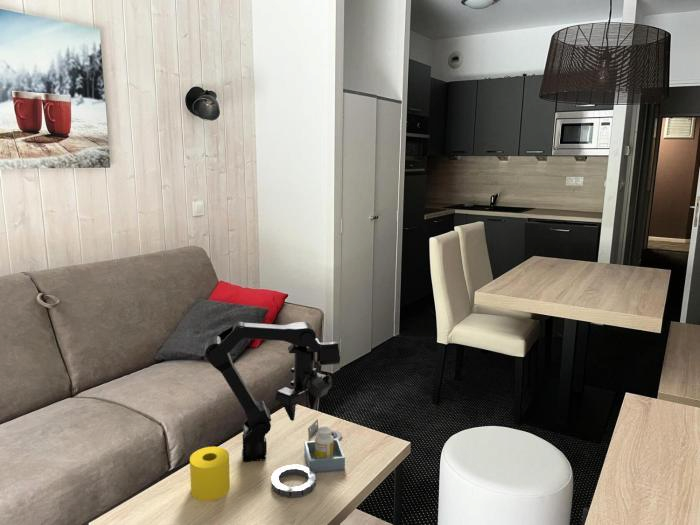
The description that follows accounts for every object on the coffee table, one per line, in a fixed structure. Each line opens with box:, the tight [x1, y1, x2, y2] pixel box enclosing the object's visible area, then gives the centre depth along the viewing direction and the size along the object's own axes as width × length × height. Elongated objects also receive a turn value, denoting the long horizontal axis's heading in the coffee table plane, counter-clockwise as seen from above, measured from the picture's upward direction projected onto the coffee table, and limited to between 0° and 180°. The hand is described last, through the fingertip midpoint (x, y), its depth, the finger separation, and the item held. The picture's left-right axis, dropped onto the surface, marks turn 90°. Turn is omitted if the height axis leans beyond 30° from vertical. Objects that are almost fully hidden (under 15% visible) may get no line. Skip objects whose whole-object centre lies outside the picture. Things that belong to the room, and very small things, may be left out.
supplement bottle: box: [314, 426, 333, 459], centre depth 156 cm, size 5×5×10 cm
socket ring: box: [270, 464, 317, 499], centre depth 146 cm, size 12×12×2 cm
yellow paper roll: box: [189, 446, 231, 502], centre depth 142 cm, size 10×10×9 cm
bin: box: [303, 439, 346, 474], centre depth 157 cm, size 10×10×4 cm
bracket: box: [307, 418, 343, 441], centre depth 171 cm, size 7×10×4 cm, turn 67°
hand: (302, 414), depth 160 cm, fingers open, 9 cm apart
